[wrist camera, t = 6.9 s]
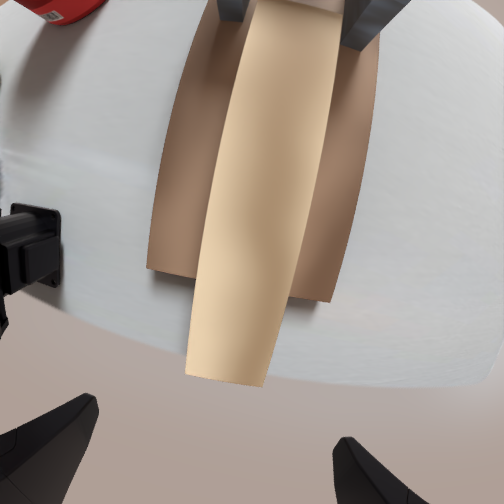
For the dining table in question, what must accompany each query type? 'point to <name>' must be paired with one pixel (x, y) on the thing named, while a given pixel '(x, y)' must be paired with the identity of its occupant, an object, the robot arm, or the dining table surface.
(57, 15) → the canned food
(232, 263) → the beech bar
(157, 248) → the track
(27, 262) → the robot arm
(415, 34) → the dining table surface
